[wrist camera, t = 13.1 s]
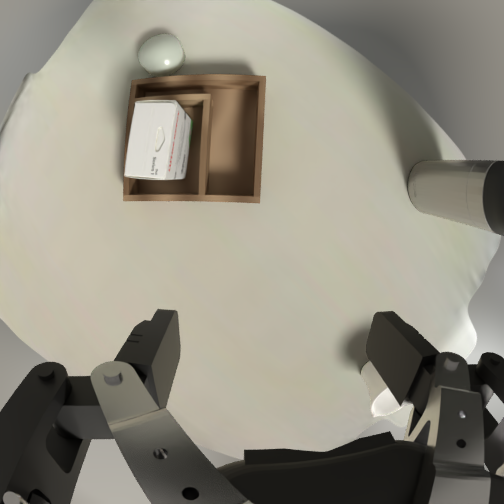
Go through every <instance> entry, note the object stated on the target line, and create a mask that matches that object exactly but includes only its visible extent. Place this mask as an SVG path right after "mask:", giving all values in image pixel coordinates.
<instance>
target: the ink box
mask: <svg viewBox="0 0 504 504" xmlns="http://www.w3.org/2000/svg"><path fill="white" fill-rule="evenodd" d="M192 128H193V121H192V119H191V118H190V117H189V116H188V115H187V113H186V112H185V111H184V110H183V108H182V107H181V106H180V105H179V104H178V102H177V101H176V100H144V101H137V102H135V108H134V113H133V118H132V123H131V129H130V135H129V142H128V148H127V155H126V163H125V172H124V176H125V177H130V178H138V179H151V180H174V179H185V178H186V170H187V163H188V155H189V148H190V141H191V134H192Z"/></svg>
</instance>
